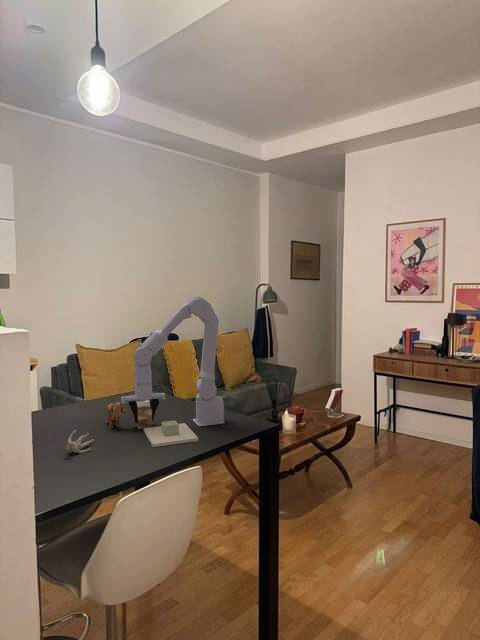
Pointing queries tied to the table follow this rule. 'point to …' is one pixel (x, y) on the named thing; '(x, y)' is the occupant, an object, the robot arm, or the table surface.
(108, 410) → the lion figurine
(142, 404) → the beige rectangular block
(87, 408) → the table surface
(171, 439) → the board
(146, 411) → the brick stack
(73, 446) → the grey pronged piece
